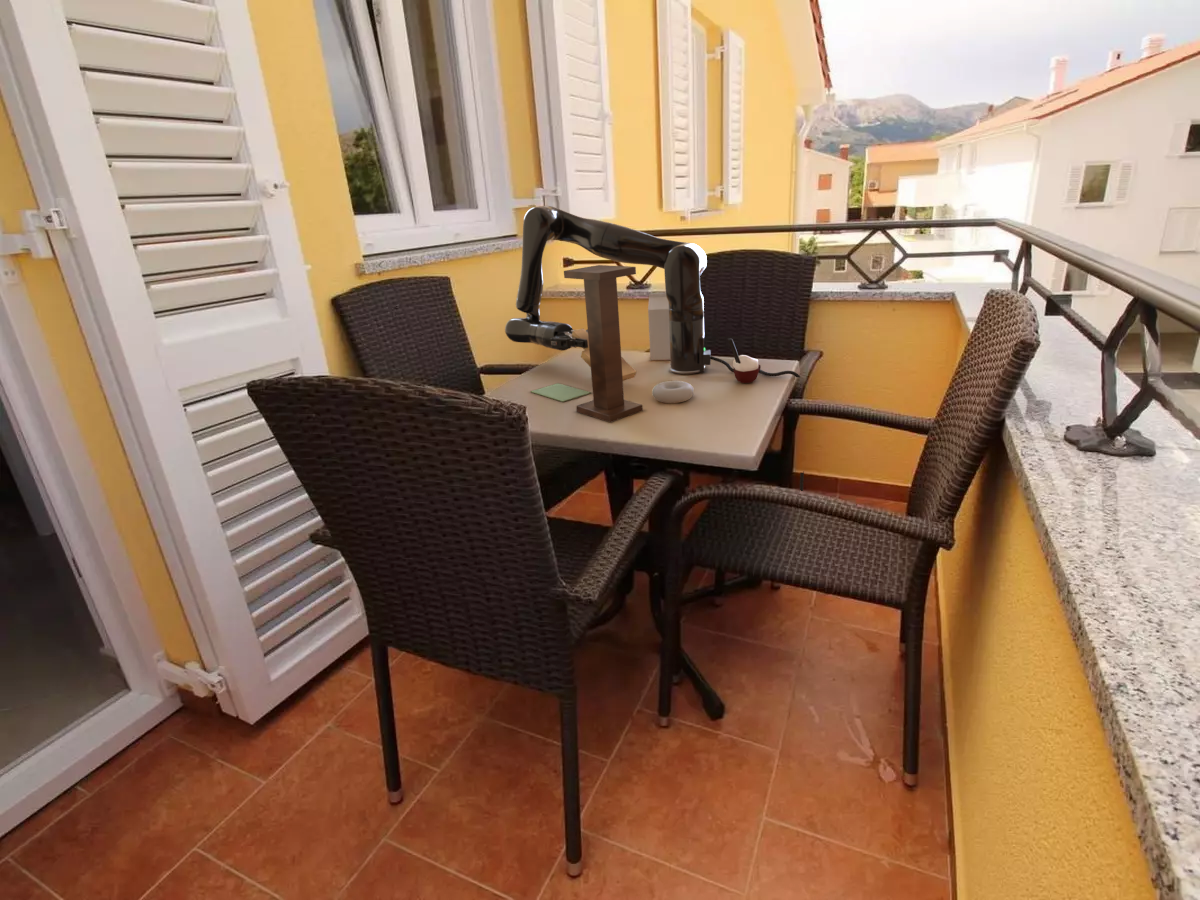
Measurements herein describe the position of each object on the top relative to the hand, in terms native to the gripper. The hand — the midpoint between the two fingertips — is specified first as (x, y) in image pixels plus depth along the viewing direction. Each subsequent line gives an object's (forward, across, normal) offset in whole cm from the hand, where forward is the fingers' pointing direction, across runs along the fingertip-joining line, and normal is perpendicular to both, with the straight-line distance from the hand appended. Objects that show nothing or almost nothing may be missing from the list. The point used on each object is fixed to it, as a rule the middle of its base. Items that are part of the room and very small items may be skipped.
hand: (592, 342), depth 164 cm
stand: (+21, -14, +11) cm, 28 cm away
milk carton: (-4, +29, +11) cm, 32 cm away
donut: (+26, +2, +11) cm, 29 cm away
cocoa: (+31, +23, +11) cm, 41 cm away
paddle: (+3, 0, +4) cm, 5 cm away
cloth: (0, -12, +11) cm, 16 cm away
